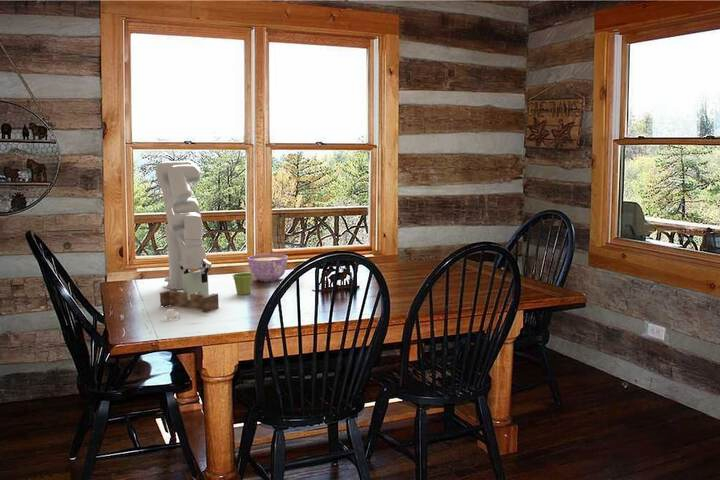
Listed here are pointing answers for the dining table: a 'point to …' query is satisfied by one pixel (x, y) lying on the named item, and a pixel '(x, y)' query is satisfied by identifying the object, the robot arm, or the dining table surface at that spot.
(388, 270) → the dining table surface
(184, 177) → the robot arm
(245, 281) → the plant pot
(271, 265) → the bowl of food
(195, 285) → the sage slot plate
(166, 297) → the walnut slot rail
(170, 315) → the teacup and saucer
